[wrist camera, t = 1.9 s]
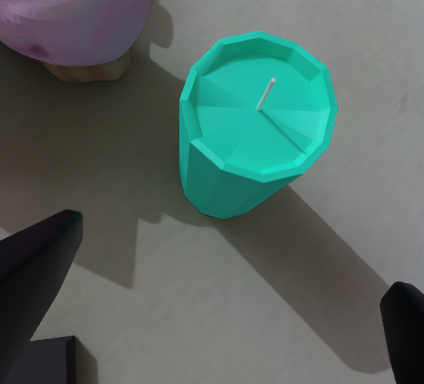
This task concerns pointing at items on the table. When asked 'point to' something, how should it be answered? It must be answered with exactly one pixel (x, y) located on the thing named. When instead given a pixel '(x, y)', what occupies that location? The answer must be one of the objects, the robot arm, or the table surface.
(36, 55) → the cupcake
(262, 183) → the candle
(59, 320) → the table surface
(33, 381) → the candle pad
